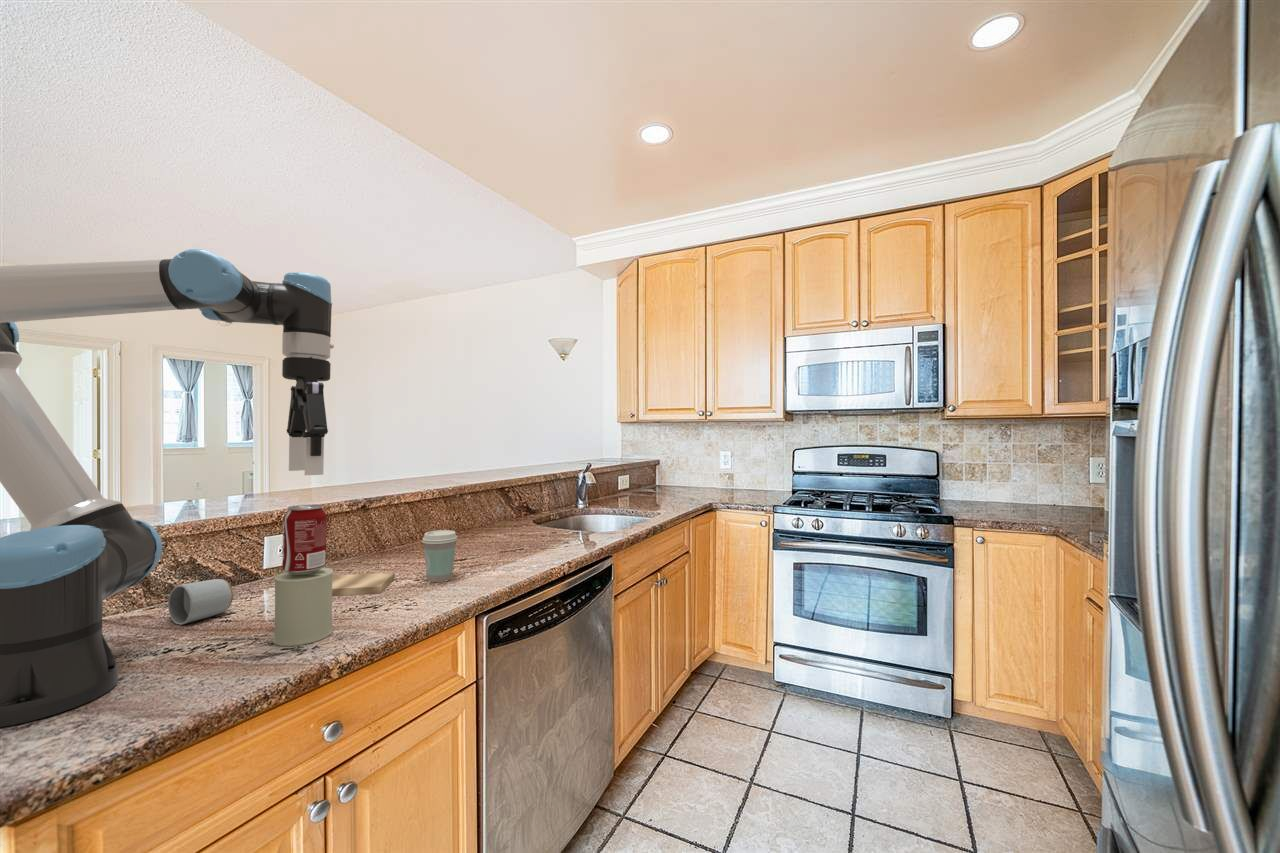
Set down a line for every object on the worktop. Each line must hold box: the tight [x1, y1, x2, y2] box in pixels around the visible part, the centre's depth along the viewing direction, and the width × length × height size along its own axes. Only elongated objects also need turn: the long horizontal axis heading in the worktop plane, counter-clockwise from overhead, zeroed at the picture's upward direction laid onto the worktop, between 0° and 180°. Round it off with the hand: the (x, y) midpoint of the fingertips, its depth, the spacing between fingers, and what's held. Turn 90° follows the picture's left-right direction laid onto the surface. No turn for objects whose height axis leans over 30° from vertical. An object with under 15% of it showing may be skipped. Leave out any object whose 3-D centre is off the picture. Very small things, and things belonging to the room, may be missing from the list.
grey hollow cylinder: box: [167, 578, 234, 626], centre depth 104 cm, size 11×8×8 cm
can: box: [272, 567, 334, 647], centre depth 95 cm, size 9×9×12 cm
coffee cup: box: [421, 529, 459, 583], centre depth 131 cm, size 8×8×12 cm
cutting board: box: [332, 572, 396, 597], centre depth 124 cm, size 16×12×2 cm
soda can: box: [281, 503, 328, 575], centre depth 95 cm, size 7×7×12 cm
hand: (305, 472), depth 95 cm, fingers open, 13 cm apart
